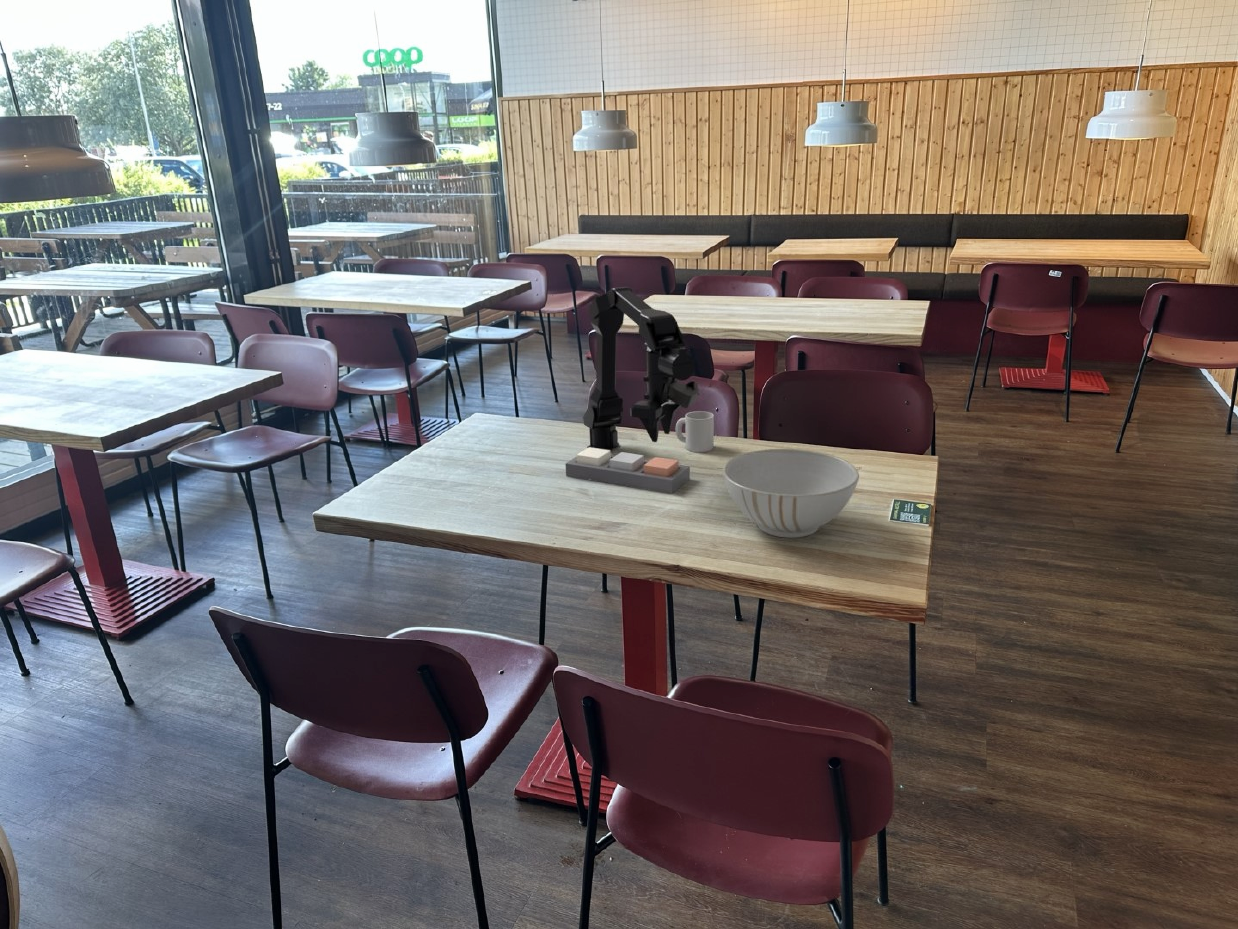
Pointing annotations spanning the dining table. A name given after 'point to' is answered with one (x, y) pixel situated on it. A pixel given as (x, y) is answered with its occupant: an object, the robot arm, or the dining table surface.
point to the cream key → (594, 456)
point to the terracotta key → (661, 467)
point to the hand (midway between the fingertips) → (660, 437)
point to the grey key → (627, 461)
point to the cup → (697, 431)
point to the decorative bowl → (790, 489)
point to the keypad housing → (629, 476)
